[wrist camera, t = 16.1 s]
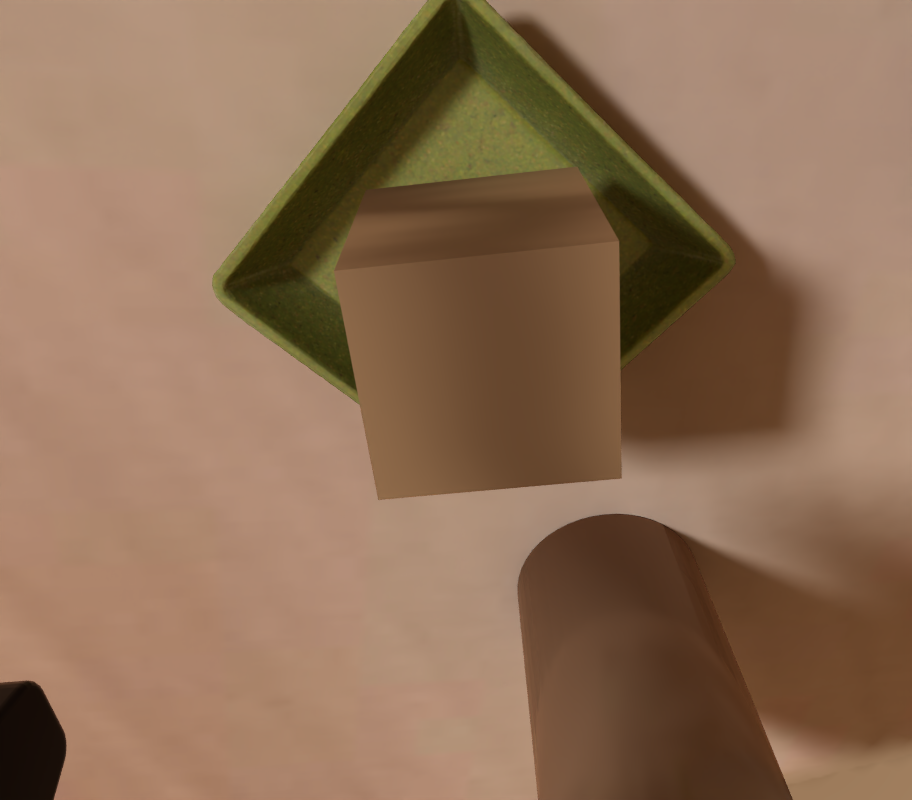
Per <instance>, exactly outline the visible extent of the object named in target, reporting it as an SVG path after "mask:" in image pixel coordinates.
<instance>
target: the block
mask: <svg viewBox="0 0 912 800" xmlns="http://www.w3.org/2000/svg"><path fill="white" fill-rule="evenodd" d="M334 274H335V279H336V284H337V290H338V295H339V300H340V305H341V310H342V315H343V320H344V326H345V331H346V336H347V341H348V346H349V351H350V356H351V362H352V367H353V372H354V377H355V382H356V387H357V392H358V398H359V403H360V408H361V413H362V418H363V423H364V428H365V434H366V439H367V444H368V449H369V454H370V459H371V464H372V470H373V475H374V480H375V485H376V490H377V495H378V500H382V499H393V498H404V497H416V496H427V495H438V494H450V493H461V492H472V491H484V490H495V489H506V488H518V487H529V486H540V485H552V484H563V483H574V482H586V481H597V480H609V479H620V478H622V474H621V373H620V272H619V240H618V238H617V236H616V234H615V233H614V231H613V229H612V227H611V226H610V224H609V222H608V220H607V219H606V217H605V215H604V213H603V211H602V210H601V208H600V206H599V204H598V203H597V201H596V199H595V197H594V195H593V194H592V192H591V190H590V188H589V187H588V185H587V183H586V181H585V180H584V178H583V176H582V174H581V172H580V171H579V169H578V167H569V168H559V169H550V170H541V171H532V172H523V173H514V174H505V175H496V176H487V177H478V178H469V179H460V180H451V181H442V182H433V183H423V184H414V185H405V186H396V187H387V188H378V189H369V190H366V191H365V194H364V196H363V199H362V201H361V204H360V206H359V209H358V211H357V214H356V216H355V219H354V221H353V224H352V226H351V229H350V231H349V234H348V236H347V239H346V242H345V244H344V247H343V249H342V252H341V254H340V257H339V259H338V262H337V264H336V267H335V269H334Z"/></svg>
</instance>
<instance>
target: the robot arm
mask: <svg viewBox="0 0 912 800" xmlns="http://www.w3.org/2000/svg"><path fill="white" fill-rule="evenodd" d="M65 756H66V738H65V733H64V731H63V729H62V727H61V725H60V723H59V721H58V719H57V717H56V715H55V713H54V711H53V709H52V707H51V705H50V703H49V701H48V699H47V697H46V695H45V693H44V691H43V690H42V688H41V687H40V686H39V685H38V684H36V683H35V682H34V681H17V682H4V683H0V800H54V796H55V793H56V789H57V786H58V782H59V779H60V775H61V772H62V768H63V764H64V761H65Z"/></svg>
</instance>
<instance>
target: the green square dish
mask: <svg viewBox="0 0 912 800" xmlns="http://www.w3.org/2000/svg"><path fill="white" fill-rule="evenodd" d="M569 167H578V169H579V171H580V172H581V174H582V176H583V178H584V180H585V181H586V183H587V185H588V187H589V188H590V190H591V192H592V194H593V195H594V197H595V199H596V201H597V203H598V204H599V206H600V208H601V210H602V211H603V213H604V215H605V217H606V219H607V220H608V222H609V224H610V226H611V227H612V229H613V231H614V233H615V234H616V236H617V238H618V240H619V272H620V371H621V370H622V369H623V368H624V367H625V366H626V365H627V364H628V363H629V362H630V361H631V360H632V359H634V358H635V357H636V356H637V355H638V354H639V353H640V352H641V351H642V350H644V349H645V348H646V347H647V346H648V345H650V344H651V343H652V342H653V341H654V340H655V339H656V338H657V337H659V336H660V335H661V334H662V333H663V332H664V331H665V330H666V329H667V328H668V327H669V326H670V325H672V324H673V323H674V322H675V321H676V320H677V319H679V318H680V317H681V316H682V315H683V314H684V313H685V312H686V311H687V310H689V309H690V308H691V307H692V306H693V305H694V304H695V303H696V302H697V301H698V300H700V299H701V298H702V297H703V296H704V295H705V294H706V293H707V292H709V291H710V290H711V289H712V288H713V287H714V286H715V285H716V284H718V283H719V282H720V281H721V280H722V279H723V278H724V277H725V276H726V275H727V274H728V273H729V272H730V271H731V270H732V268H733V267H734V265H735V256H734V253H733V251H732V249H731V248H730V246H729V245H728V244H727V243H726V242H725V241H724V240H723V239H722V238H721V237H720V235H718V234H717V233H716V231H715V230H714V229H713V228H711V227H710V226H709V225H708V224H707V223H706V222H705V221H704V220H703V219H702V218H701V217H700V216H699V215H698V214H697V213H696V212H695V211H694V210H693V209H692V208H691V207H690V206H689V205H688V204H687V203H686V201H685V200H684V199H683V198H682V197H681V196H679V195H678V194H677V193H676V192H675V191H674V190H673V189H672V188H671V187H670V186H669V185H668V184H667V183H666V182H665V181H664V180H663V179H662V178H661V177H660V176H659V175H658V174H657V173H656V172H655V171H654V170H653V169H652V168H651V167H650V166H649V165H648V164H647V163H646V162H645V161H644V160H643V159H642V158H641V157H640V156H639V155H638V154H637V153H636V152H635V151H634V150H633V149H632V148H631V147H630V146H629V145H628V144H627V143H626V142H625V141H624V140H623V139H622V138H621V137H620V136H619V135H618V134H617V133H616V132H615V131H614V130H613V129H612V128H611V127H610V126H609V125H608V124H607V123H606V122H605V121H604V120H603V119H602V118H601V117H600V116H599V115H598V114H597V113H596V112H595V111H594V110H593V109H592V108H591V107H590V106H589V105H588V103H586V102H585V101H584V100H583V99H582V98H581V97H580V96H579V95H578V93H577V92H576V91H575V90H573V89H572V88H571V87H570V86H569V85H568V83H567V82H566V81H565V80H563V79H562V78H561V77H560V76H559V75H558V74H557V72H556V71H555V70H553V69H552V68H551V67H550V66H549V65H548V64H547V63H546V62H545V60H544V59H543V58H542V57H541V56H540V55H539V54H538V53H537V52H536V51H535V50H534V49H533V48H532V47H531V46H530V45H529V44H528V43H527V42H526V41H525V40H524V38H523V37H521V36H520V35H519V34H518V33H517V32H516V31H515V30H514V29H513V28H512V27H511V26H510V25H509V24H508V23H507V22H506V21H505V20H504V19H503V18H502V17H501V16H500V15H499V14H498V13H497V12H496V10H495V9H494V8H493V7H492V6H491V5H490V4H489V3H488V2H487V1H486V0H428V1H427V2H426V3H425V4H424V6H423V7H422V8H421V10H420V11H419V12H418V14H417V15H416V16H415V18H414V19H413V20H412V21H411V22H410V24H409V25H408V27H407V28H406V29H405V30H404V31H403V32H402V34H401V35H400V36H399V38H398V39H397V41H396V42H395V43H394V45H393V46H392V47H391V48H390V50H389V51H388V52H387V54H386V55H385V56H384V57H383V59H382V60H381V61H380V63H379V64H378V65H377V66H376V67H375V69H374V70H373V72H372V73H371V74H370V76H369V77H368V79H367V80H366V81H365V82H364V83H363V85H362V86H361V87H360V89H359V90H358V92H357V93H356V94H355V95H354V96H353V98H352V99H351V100H350V102H349V103H348V104H347V105H346V107H345V108H344V109H343V111H342V112H341V114H340V115H339V116H338V117H337V118H336V119H335V121H334V122H333V123H332V125H331V126H330V127H329V128H328V130H327V131H326V132H325V134H324V135H323V136H322V137H321V139H320V140H319V141H318V143H317V144H316V145H315V147H314V148H313V149H312V150H311V152H310V153H309V154H308V155H307V157H306V158H305V159H304V160H303V161H302V163H301V164H300V166H299V167H298V169H297V170H296V171H295V172H294V173H293V175H292V176H291V177H290V178H289V180H288V181H287V182H286V184H285V185H284V186H283V188H282V189H281V190H280V191H279V192H278V193H277V194H276V196H275V197H274V198H273V200H272V201H271V202H270V204H269V205H268V206H267V207H266V209H265V210H264V212H263V213H262V214H261V215H260V217H259V218H258V219H257V220H256V222H255V223H254V224H253V225H252V227H251V228H250V229H249V231H248V232H247V233H246V235H245V236H244V237H243V238H242V240H241V241H240V242H239V243H238V245H237V246H236V247H235V249H234V250H233V251H232V252H231V253H230V255H229V256H228V257H227V259H226V260H225V261H224V262H223V264H222V265H221V267H220V268H219V269H218V270H217V272H216V273H215V274H214V275H213V281H212V286H213V290H214V293H215V295H216V297H217V298H218V299H219V301H220V302H221V303H222V304H223V305H224V306H225V307H227V308H228V309H229V310H231V311H232V312H233V313H234V314H236V315H237V316H238V317H239V318H241V319H242V320H243V321H244V322H246V323H247V324H248V325H250V326H251V327H253V328H254V329H256V330H257V331H259V332H260V333H261V334H262V335H264V336H265V337H266V338H268V339H269V340H271V341H272V342H274V343H275V344H277V345H278V346H280V347H281V348H282V349H284V350H285V351H286V352H288V353H289V354H290V355H291V356H293V357H294V358H296V359H297V360H298V361H300V362H301V363H303V364H304V365H306V366H307V367H309V368H310V369H311V370H312V371H314V372H315V373H316V374H318V375H319V376H321V377H323V378H324V379H325V380H326V381H328V382H329V383H330V384H332V385H333V386H335V387H336V388H337V389H339V390H340V391H341V392H343V393H344V394H346V395H347V396H348V397H350V398H351V399H353V400H354V401H355V402H357V403H358V404H359V405H360V403H359V398H358V392H357V387H356V382H355V377H354V372H353V367H352V362H351V356H350V351H349V346H348V341H347V336H346V331H345V326H344V320H343V315H342V310H341V305H340V300H339V295H338V290H337V284H336V279H335V274H334V269H335V267H336V264H337V262H338V259H339V257H340V254H341V252H342V249H343V247H344V244H345V242H346V239H347V236H348V234H349V231H350V229H351V226H352V224H353V221H354V219H355V216H356V214H357V211H358V209H359V206H360V204H361V201H362V199H363V196H364V194H365V191H366V190H369V189H378V188H387V187H396V186H405V185H414V184H423V183H433V182H442V181H451V180H460V179H469V178H478V177H487V176H496V175H505V174H514V173H523V172H532V171H541V170H550V169H559V168H569Z"/></svg>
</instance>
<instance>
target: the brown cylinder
mask: <svg viewBox="0 0 912 800" xmlns="http://www.w3.org/2000/svg"><path fill="white" fill-rule="evenodd" d="M517 587H518V603H519V613H520V623H521V633H522V643H523V654H524V664H525V674H526V684H527V694H528V704H529V714H530V724H531V734H532V744H533V754H534V764H535V774H536V784H537V794H538V800H793V799H792V796H791V794H790V791H789V789H788V787H787V784H786V782H785V779H784V777H783V774H782V772H781V769H780V767H779V764H778V762H777V760H776V757H775V755H774V752H773V750H772V747H771V745H770V742H769V740H768V737H767V735H766V732H765V730H764V728H763V725H762V723H761V720H760V718H759V715H758V713H757V710H756V708H755V705H754V703H753V701H752V698H751V696H750V693H749V691H748V688H747V686H746V683H745V681H744V678H743V676H742V674H741V671H740V669H739V666H738V664H737V661H736V659H735V656H734V654H733V651H732V649H731V647H730V644H729V642H728V639H727V637H726V634H725V632H724V629H723V627H722V624H721V622H720V620H719V617H718V615H717V612H716V610H715V607H714V605H713V602H712V600H711V597H710V595H709V593H708V590H707V588H706V585H705V583H704V580H703V578H702V575H701V573H700V570H699V568H698V566H697V563H696V561H695V558H694V556H693V554H692V552H691V550H690V549H689V547H688V545H687V544H686V543H685V542H684V541H683V540H682V539H681V537H680V536H678V535H677V534H676V533H675V532H673V531H672V530H671V529H669V528H667V527H666V526H664V525H662V524H660V523H657V522H655V521H653V520H650V519H646V518H643V517H638V516H633V515H623V514H609V515H599V516H593V517H588V518H585V519H581V520H578V521H575V522H573V523H570V524H568V525H566V526H564V527H562V528H560V529H558V530H556V531H555V532H553V533H552V534H550V535H548V536H547V537H546V538H545V539H544V540H542V541H541V542H540V543H539V544H538V545H537V546H536V547H535V548H534V549H533V551H532V552H531V553H530V555H529V556H528V558H527V559H526V561H525V563H524V565H523V567H522V569H521V572H520V575H519V580H518V586H517Z"/></svg>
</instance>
